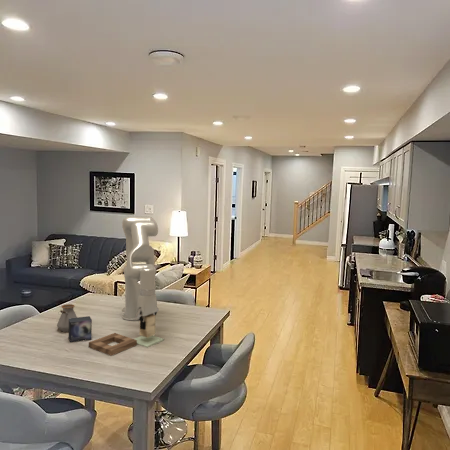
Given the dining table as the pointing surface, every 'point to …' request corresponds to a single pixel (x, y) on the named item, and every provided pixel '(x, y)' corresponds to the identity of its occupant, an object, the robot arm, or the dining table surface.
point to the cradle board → (103, 345)
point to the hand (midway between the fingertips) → (147, 326)
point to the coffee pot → (66, 317)
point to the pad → (148, 340)
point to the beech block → (148, 326)
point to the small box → (80, 329)
